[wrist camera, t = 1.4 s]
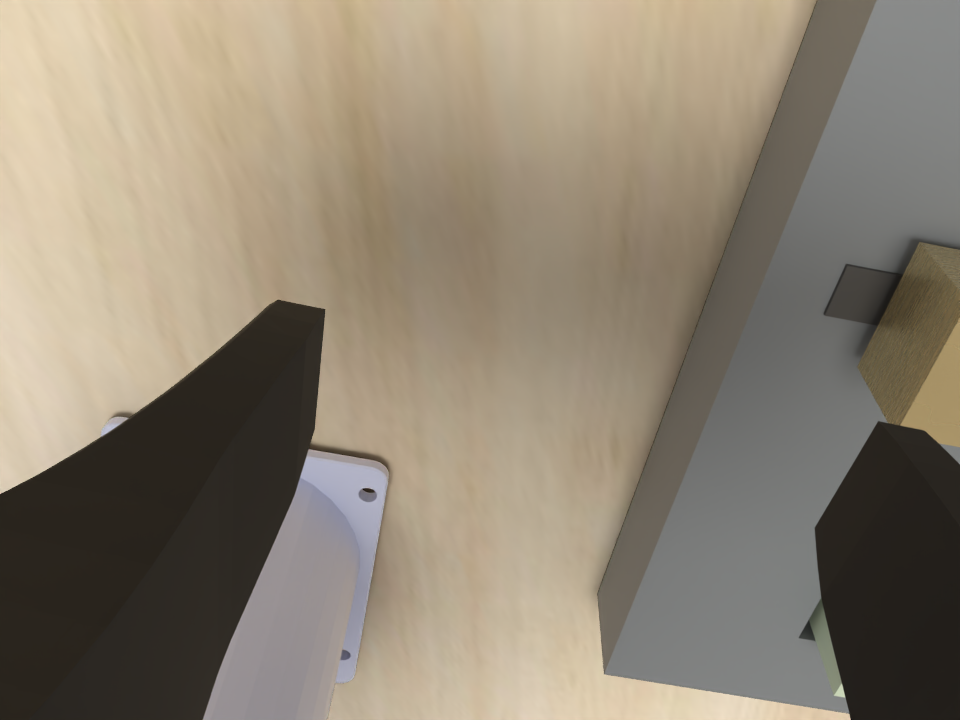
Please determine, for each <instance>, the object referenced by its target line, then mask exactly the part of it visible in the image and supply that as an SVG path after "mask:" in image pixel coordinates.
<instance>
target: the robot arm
mask: <svg viewBox="0 0 960 720" xmlns="http://www.w3.org/2000/svg"><path fill="white" fill-rule="evenodd" d="M324 318H325V309H321V308H316V307H311V306H306V305H301V304H296V303H291V302H286V301H281V300H277V301H275V302H273V303H272V304H270V305H269V306H267V307H266V308H265V309H264V310H263V311H262V312H261V313H260V314H259V315H258V316H256V317H255V318H254V319H253V320H252V321H251V322H250V323H249V324H248V325H246V326H245V327H244V328H243V329H242V330H241V331H240V332H239V333H237V334H236V335H235V336H234V337H233V338H232V339H231V340H229V341H228V342H227V343H226V344H225V345H223V346H222V347H221V348H220V349H219V350H218V351H216V352H215V353H214V354H213V355H212V356H210V357H209V358H208V359H207V360H205V361H204V362H203V363H202V364H200V365H199V366H198V367H197V368H195V369H194V370H193V371H192V372H190V373H189V374H188V375H187V376H185V377H184V378H183V379H182V380H180V381H179V382H178V383H177V384H175V385H174V386H173V387H171V388H170V389H169V390H168V391H166V392H165V393H164V394H162V395H161V396H159V397H158V398H157V399H155V400H154V401H152V402H151V403H149V404H148V405H147V406H145V407H144V408H142V409H141V410H140V411H138V412H137V413H135V414H134V415H132V416H131V417H130V418H126V417H114V418H111V419H109V420H108V421H107V422H106V424H105V425H104V427H103V428H102V431H101V437H100V438H99V439H97V440H95V441H94V442H92V443H91V444H89V445H88V446H86V447H84V448H83V449H81V450H79V451H78V452H76V453H75V454H73V455H71V456H69V457H68V458H66V459H64V460H63V461H61V462H59V463H57V464H56V465H54V466H52V467H51V468H49V469H47V470H45V471H44V472H42V473H40V474H38V475H36V476H35V477H33V478H31V479H29V480H27V481H25V482H23V483H21V484H19V485H17V486H15V487H14V488H12V489H10V490H8V491H5V492H3V493H1V494H0V720H327V719H328V714H329V709H330V705H331V700H332V695H333V691H334V686H335V683H346V682H349V681H351V680H352V679H353V678H354V676H355V671H356V666H357V660H358V654H359V648H360V642H361V637H362V631H363V625H364V619H365V613H366V608H367V602H368V596H369V590H370V584H371V579H372V573H373V567H374V561H375V555H376V550H377V544H378V538H379V532H380V526H381V520H382V515H383V509H384V503H385V497H386V491H387V486H388V480H389V471H388V470H387V468H386V466H384V465H383V464H382V463H380V462H377V461H374V460H369V459H363V458H357V457H351V456H346V455H340V454H334V453H328V452H322V451H317V450H311V449H309V446H310V443H311V439H312V436H313V433H314V429H315V419H316V408H317V396H318V385H319V374H320V363H321V352H322V341H323V329H324ZM363 488H370V489H373V490H374V491H375V492H374V493H368V492H365V491H364V490H363ZM815 540H816V553H817V565H818V574H819V583H820V591H821V599H822V604H823V608H824V613H825V617H826V621H827V625H828V629H829V634H830V638H831V642H832V646H833V650H834V654H835V658H836V662H837V666H838V670H839V674H840V678H841V682H842V686H843V690H844V694H845V698H846V702H847V706H848V710H849V714H850V718H851V720H960V464H959V463H958V462H957V461H956V460H955V459H954V458H953V457H952V456H951V455H950V454H949V453H948V452H947V451H946V450H945V449H944V448H943V447H942V446H941V445H940V444H939V443H938V442H937V441H936V440H934V439H933V438H932V437H931V436H930V435H929V434H928V433H927V432H926V431H924V430H920V429H915V428H910V427H905V426H900V425H895V424H890V423H885V422H880V421H878V422H877V424H876V426H875V427H874V429H873V431H872V432H871V434H870V436H869V437H868V439H867V441H866V442H865V444H864V446H863V447H862V449H861V451H860V452H859V454H858V456H857V458H856V459H855V461H854V463H853V464H852V466H851V468H850V469H849V471H848V473H847V474H846V476H845V478H844V479H843V481H842V483H841V484H840V486H839V488H838V489H837V491H836V493H835V494H834V496H833V498H832V499H831V501H830V503H829V504H828V506H827V508H826V509H825V511H824V513H823V515H822V516H821V518H820V520H819V521H818V523H817V525H816V526H815ZM342 649H344V650H342Z"/></svg>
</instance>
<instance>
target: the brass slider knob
mask: <svg viewBox="0 0 960 720" xmlns="http://www.w3.org/2000/svg"><path fill="white" fill-rule="evenodd" d="M857 368H858V369H859V371H860V373H861V375H862V377H863V379H864V380H865V382H866V384H867V386H868V388H869V389H870V391H871V393H872V395H873V397H874V399H875V400H876V402H877V404H878V406H879V408H880V409H881V411H882V413H883V415H884V417H885V418H886V420H887V422H888V423H890V424H895V425H900V426H905V427H910V428H915V429H920V430H924V431H926V432H927V433H928V434H929V435H930V436H931V437H932V438H933V439H934V440H936V441H937V442H938V443H939V444H945V445H950V446H956V447H960V250H958V249H953V248H948V247H942V246H937V245H932V244H927V243H922V242H919V243H918V245H917V247H916V249H915V252H914V254H913V256H912V258H911V260H910V262H909V264H908V266H907V268H906V270H905V272H904V274H903V276H902V278H901V280H900V282H899V284H898V286H897V288H896V290H895V292H894V294H893V296H892V298H891V300H890V302H889V304H888V306H887V308H886V310H885V312H884V314H883V316H882V318H881V320H880V322H879V324H878V326H877V328H876V330H875V332H874V334H873V336H872V338H871V340H870V342H869V344H868V346H867V348H866V350H865V352H864V354H863V356H862V358H861V360H860V362H859V364H858V366H857Z"/></svg>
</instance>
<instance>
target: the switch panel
mask: <svg viewBox="0 0 960 720" xmlns="http://www.w3.org/2000/svg"><path fill="white" fill-rule="evenodd" d="M919 242H922V243H927V244H932V245H937V246H942V247H948V248H953V249H958V250H960V0H817V3H816V6H815V8H814V11H813V14H812V17H811V19H810V22H809V25H808V27H807V30H806V33H805V35H804V38H803V41H802V44H801V46H800V49H799V52H798V54H797V57H796V60H795V62H794V65H793V68H792V71H791V73H790V76H789V79H788V81H787V84H786V87H785V89H784V92H783V95H782V98H781V100H780V103H779V106H778V108H777V111H776V114H775V116H774V119H773V122H772V125H771V127H770V130H769V133H768V135H767V138H766V141H765V143H764V146H763V149H762V151H761V154H760V157H759V160H758V162H757V165H756V168H755V170H754V173H753V176H752V178H751V181H750V184H749V187H748V189H747V192H746V195H745V197H744V200H743V203H742V205H741V208H740V211H739V214H738V216H737V219H736V222H735V224H734V227H733V230H732V232H731V235H730V238H729V241H728V243H727V246H726V249H725V251H724V254H723V257H722V259H721V262H720V265H719V268H718V270H717V273H716V276H715V278H714V281H713V284H712V286H711V289H710V292H709V294H708V297H707V300H706V303H705V305H704V308H703V311H702V313H701V316H700V319H699V321H698V324H697V327H696V330H695V332H694V335H693V338H692V340H691V343H690V346H689V348H688V351H687V354H686V357H685V359H684V362H683V365H682V367H681V370H680V373H679V375H678V378H677V381H676V384H675V386H674V389H673V392H672V394H671V397H670V400H669V402H668V405H667V408H666V411H665V413H664V416H663V419H662V421H661V424H660V427H659V429H658V432H657V435H656V437H655V440H654V443H653V446H652V448H651V451H650V454H649V456H648V459H647V462H646V464H645V467H644V470H643V473H642V475H641V478H640V481H639V483H638V486H637V489H636V491H635V494H634V497H633V500H632V502H631V505H630V508H629V510H628V513H627V516H626V518H625V521H624V524H623V527H622V529H621V532H620V535H619V537H618V540H617V543H616V545H615V548H614V551H613V554H612V556H611V559H610V562H609V564H608V567H607V570H606V572H605V575H604V578H603V580H602V583H601V586H600V589H599V591H598V594H597V595H598V607H599V619H600V631H601V643H602V655H603V667H604V674H606V675H612V676H618V677H624V678H631V679H637V680H643V681H649V682H656V683H662V684H668V685H674V686H680V687H687V688H693V689H699V690H705V691H712V692H718V693H724V694H730V695H736V696H743V697H749V698H755V699H761V700H767V701H774V702H780V703H786V704H792V705H799V706H805V707H811V708H817V709H823V710H830V711H836V712H842V713H848V714H849V710H848V706H847V702H846V698H845V697H839V696H834V695H833V692H832V689H831V686H830V683H829V680H828V676H827V673H826V670H825V667H824V664H823V661H822V658H821V655H820V652H819V649H818V646H817V643H816V640H815V637H814V634H813V631H812V628H811V625H810V622H809V618H810V617H811V615H812V613H813V611H814V609H815V608H816V606H817V604H818V602H819V601H820V599H821V591H820V583H819V574H818V565H817V553H816V540H815V526H816V525H817V523H818V521H819V520H820V518H821V516H822V515H823V513H824V511H825V509H826V508H827V506H828V504H829V503H830V501H831V499H832V498H833V496H834V494H835V493H836V491H837V489H838V488H839V486H840V484H841V483H842V481H843V479H844V478H845V476H846V474H847V473H848V471H849V469H850V468H851V466H852V464H853V463H854V461H855V459H856V458H857V456H858V454H859V452H860V451H861V449H862V447H863V446H864V444H865V442H866V441H867V439H868V437H869V436H870V434H871V432H872V431H873V429H874V427H875V426H876V424H877V422H878V421H880V422H885V423H888V422H887V420H886V418H885V417H884V415H883V413H882V411H881V409H880V408H879V406H878V404H877V402H876V400H875V399H874V397H873V395H872V393H871V391H870V389H869V388H868V386H867V384H866V382H865V380H864V379H863V377H862V375H861V373H860V371H859V369H858V368H857V366H858V364H859V362H860V360H861V358H862V356H863V354H864V352H865V350H866V348H867V346H868V344H869V342H870V340H871V338H872V336H873V334H874V332H875V330H876V328H877V326H878V324H879V322H880V320H881V318H882V316H883V314H884V312H885V310H886V308H887V306H888V304H889V302H890V300H891V298H892V296H893V294H894V292H895V290H896V288H897V286H898V284H899V282H900V280H901V278H902V276H903V274H904V272H905V270H906V268H907V266H908V264H909V262H910V260H911V258H912V256H913V254H914V252H915V249H916V247H917V245H918V243H919ZM940 445H941V446H942V447H943V448H944V449H945V450H946V451H947V452H948V453H949V454H950V455H951V456H952V457H953V458H954V459H955V460H956V461H957V462H958V463H959V464H960V447H956V446H950V445H945V444H940Z"/></svg>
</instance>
